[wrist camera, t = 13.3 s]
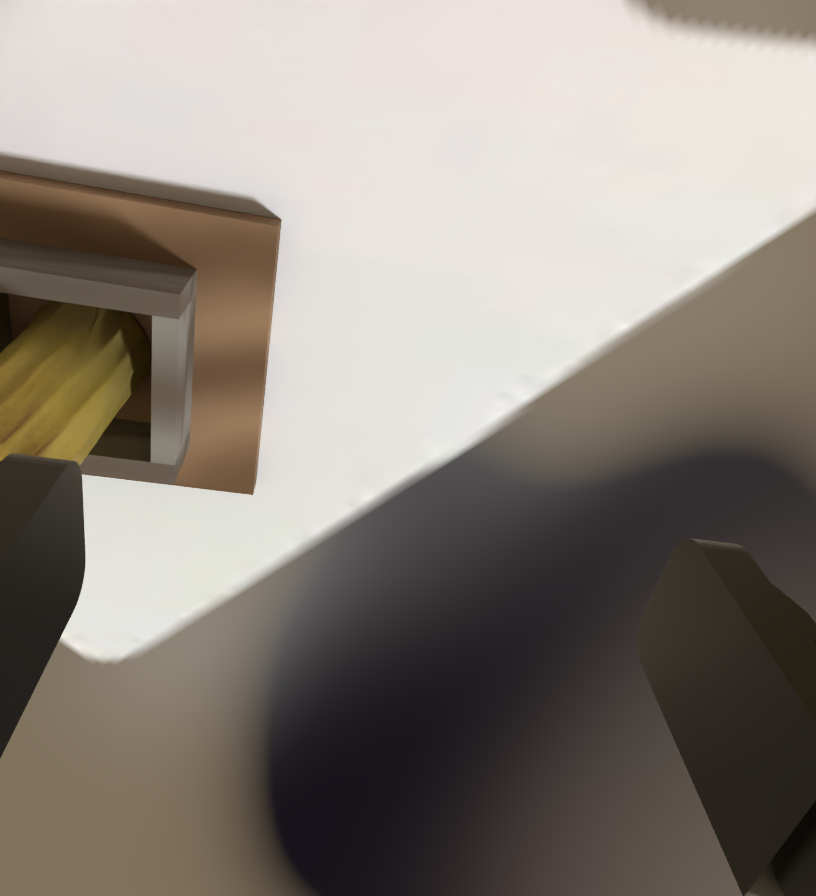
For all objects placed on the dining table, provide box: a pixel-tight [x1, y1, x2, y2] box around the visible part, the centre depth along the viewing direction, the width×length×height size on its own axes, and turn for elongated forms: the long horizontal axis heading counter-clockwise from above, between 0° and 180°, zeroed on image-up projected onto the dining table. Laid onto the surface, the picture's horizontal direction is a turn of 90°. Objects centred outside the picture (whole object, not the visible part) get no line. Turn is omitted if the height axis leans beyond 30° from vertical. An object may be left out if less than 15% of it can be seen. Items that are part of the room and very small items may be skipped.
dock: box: [0, 171, 281, 495], centre depth 37 cm, size 16×18×6 cm
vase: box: [0, 300, 150, 466], centre depth 32 cm, size 6×6×14 cm
